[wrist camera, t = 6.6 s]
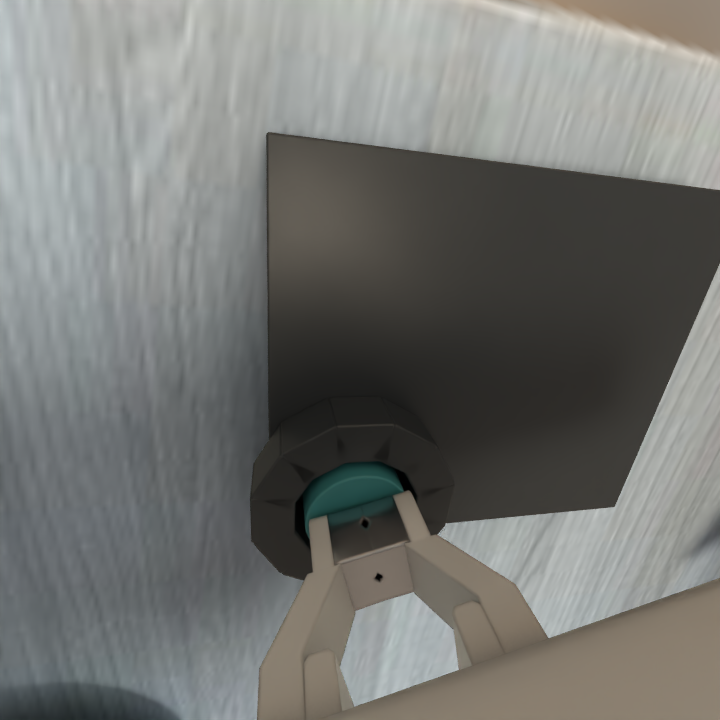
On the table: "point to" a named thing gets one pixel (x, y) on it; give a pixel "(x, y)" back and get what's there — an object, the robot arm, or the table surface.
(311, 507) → the button
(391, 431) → the black button pad
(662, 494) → the table surface
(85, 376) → the table surface
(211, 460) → the table surface
